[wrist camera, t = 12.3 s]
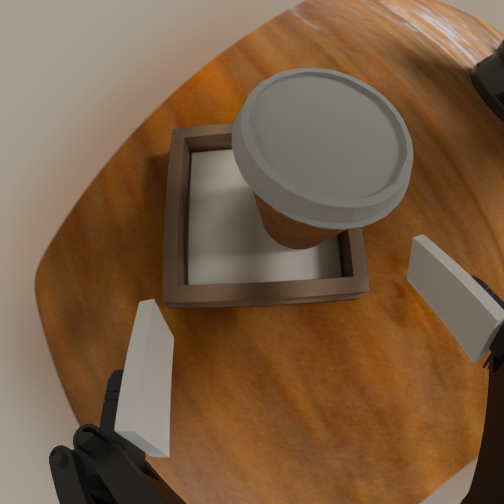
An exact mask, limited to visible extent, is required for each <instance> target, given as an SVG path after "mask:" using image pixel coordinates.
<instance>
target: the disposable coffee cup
mask: <svg viewBox="0 0 504 504" xmlns="http://www.w3.org/2000/svg"><path fill="white" fill-rule="evenodd" d="M232 150H233V154H234V157H235V161H236V164H237V166H238V168H239V171H240V173H241V175H242V177H243V178H244V180H245V181H246V182H247V184H248V185H249V186H250V187H251V189H252V190H253V193H254V196H255V200H256V203H257V206H258V209H259V212H260V215H261V219H262V223H263V225H264V227H265V230H266V231H267V233H268V234H269V235H270V237H271V238H273V239H274V240H275V241H276V242H277V243H279V244H281V245H283V246H285V247H288V248H291V249H297V250H300V249H308V248H312V247H315V246H317V245H319V244H320V243H322V242H324V241H326V240H328V239H330V238H332V237H333V236H335V235H337V234H339V233H341V232H343V231H345V230H346V229H352V228H360V227H363V226H366V225H369V224H371V223H374V222H376V221H378V220H380V219H382V218H384V217H385V216H387V215H388V214H389V213H390V212H391V211H392V210H393V209H394V208H395V207H397V206H398V204H399V203H400V201H401V200H402V198H403V197H404V195H405V193H406V190H407V188H408V185H409V180H410V175H411V169H412V166H413V156H414V153H413V144H412V140H411V137H410V134H409V132H408V129H407V127H406V124H405V122H404V120H403V118H402V117H401V115H400V114H399V112H398V111H397V110H396V109H395V107H394V106H393V105H392V104H391V103H390V102H389V101H388V99H386V98H385V97H384V96H383V95H381V94H380V93H379V92H378V91H376V90H375V89H374V88H372V87H371V86H369V85H368V84H366V83H364V82H363V81H361V80H359V79H356V78H354V77H352V76H349V75H346V74H344V73H341V72H338V71H333V70H327V69H322V68H298V69H293V70H288V71H284V72H280V73H277V74H275V75H273V76H272V77H270V78H268V79H266V80H264V81H262V82H261V83H260V84H259V85H258V86H257V87H256V88H255V89H254V90H253V91H252V92H251V93H250V94H249V96H248V98H247V99H246V101H245V103H244V105H243V106H242V107H241V109H240V111H239V113H238V115H237V117H236V119H235V121H234V126H233V131H232Z"/></svg>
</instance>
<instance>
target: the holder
mask: <svg viewBox="0 0 504 504" xmlns="http://www.w3.org/2000/svg"><path fill="white" fill-rule="evenodd" d="M233 126H234V123H225V124H214V125H204V126H195V127H187V128H179V129H173V132H172V139H171V148H170V156H169V165H168V175H167V186H166V199H165V213H164V231H163V258H162V302H165V303H169V308H214V307H245V306H266V305H284V304H300V303H313V302H326V301H338V300H349V299H359V298H362V293H366V292H369V291H370V288H369V278H368V268H367V260H366V252H365V245H364V237H363V231H362V227H360V228H352V229H346V230H345V231H343V232H341V233H339V234H337V235H335V236H333V237H332V238H330V239H328V240H326V241H324V242H322V243H320V244H319V245H317V246H315V247H312V248H308V249H300V250H297V249H291V248H288V247H285V246H283V245H281V244H279V243H277V242H276V241H275V240H274V239H273V238H271V237H270V235H269V234H268V233H267V231H266V230H265V227H264V225H263V223H262V219H261V215H260V212H259V209H258V206H257V203H256V200H255V196H254V193H253V190H252V189H251V187H250V186H249V185H248V184H247V182H246V181H245V180H244V178H243V177H242V175H241V173H240V171H239V168H238V166H237V164H236V161H235V157H234V154H233V150H232V131H233Z"/></svg>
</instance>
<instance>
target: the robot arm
mask: <svg viewBox="0 0 504 504" xmlns="http://www.w3.org/2000/svg"><path fill="white" fill-rule="evenodd" d="M470 75H471V79H472V81H473V83H474V85H475V87H476V89H477V90H478V92H479V93H480V94H481V96H482V97H483V98H484V100H485V101H486V102H487V103H488V105H489V106H490V107H491V108H492V109H493V110H494V111H495V112H496V114H497V115H498V116H499V117H500V118H501V119H503V120H504V40H503V41H502V43H501V44H500V46H499V47H498V49H497V50H496V52H495V53H494V54H492V55H490V56H489V57H487V58H485V59H484V60H482V61H481V62H479V63H477V64H476V65H475V66H474V67H473V69H472V70H471V72H470ZM406 279H407V281H408V282H409V283H410V284H411V285H412V286H413V287H414V289H415V290H416V291H417V292H418V293H419V294H420V296H421V297H422V298H423V299H424V300H425V302H426V303H427V304H428V305H429V306H430V308H431V309H432V310H433V311H434V313H435V314H436V315H437V316H438V318H439V319H440V320H441V321H442V323H443V324H444V325H445V326H446V328H447V329H448V330H449V332H450V333H451V334H452V335H453V337H454V338H455V339H456V341H457V342H458V343H459V345H460V346H461V347H462V349H463V350H464V352H465V353H466V354H467V356H468V357H469V359H470V360H471V361H472V363H473V364H474V363H475V362H477V361H478V360H480V359H481V358H483V357H484V356H485V354H486V352H487V351H488V349H490V350H491V354H490V355H489V357H488V359H487V360H486V362H485V363H484V366H483V368H485V367H486V366H487V364H488V363H489V366H488V368H487V369H489V386H488V399H487V409H486V417H485V424H484V431H483V437H482V442H481V447H480V452H479V457H478V461H477V466H476V469H475V473H474V477H473V480H472V484H471V487H470V490H469V492H468V494H467V496H466V497H465V498H464V499H463V500H462V502H461V503H460V504H504V302H503V301H502V300H501V299H500V298H499V297H498V296H497V295H496V294H494V292H493V291H492V290H491V289H490V288H488V286H487V285H486V284H485V283H484V282H483V281H482V280H480V279H478V278H477V277H475V276H470V275H469V274H468V273H467V272H466V271H465V270H464V269H463V268H461V267H460V266H459V265H458V264H457V263H456V262H455V261H454V260H453V259H452V258H450V257H449V256H448V255H447V254H446V253H445V252H444V251H443V250H441V249H440V248H439V247H438V246H437V245H436V244H434V243H433V242H432V241H431V240H430V239H428V238H427V237H426V236H425V235H424V234H423V235H419V236H416V237H413V239H412V247H411V254H410V261H409V267H408V273H407V278H406ZM173 347H174V336H173V335H172V333H171V331H170V329H169V327H168V325H167V323H166V321H165V320H164V318H163V316H162V314H161V312H160V310H159V308H158V306H157V304H156V302H155V300H154V299H150V300H145V301H140V302H139V306H138V310H137V314H136V318H135V322H134V326H133V330H132V334H131V339H130V343H129V348H128V352H127V357H126V362H125V367H124V370H114V372H113V373H112V375H111V377H110V378H109V380H108V384H107V389H106V392H107V393H106V394H105V399H104V400H105V402H104V405H103V410H102V416H101V422H100V428H98V427H97V426H95V425H92V424H85V425H83V426H81V427H80V428H79V429H78V430H77V431H76V432H75V435H74V437H73V445H74V448H75V449H74V450H70V449H69V448H67V447H65V446H62V445H61V446H57V447H55V448H54V449H53V450H52V451H51V453H50V456H49V464H50V469H51V473H52V477H53V481H54V485H55V489H56V493H57V496H58V499H59V502H60V504H186V503H185V502H184V501H183V500H182V499H181V498H180V497H179V496H178V495H177V494H176V493H175V492H174V491H173V490H172V489H171V488H170V487H169V485H168V484H167V483H166V482H165V481H164V480H163V479H162V478H161V477H160V476H159V475H158V473H157V472H156V471H155V470H154V469H153V468H152V467H151V465H150V464H149V463H148V462H147V461H146V460H145V453H146V454H148V455H150V456H151V457H169V438H170V398H171V377H172V361H173Z"/></svg>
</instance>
